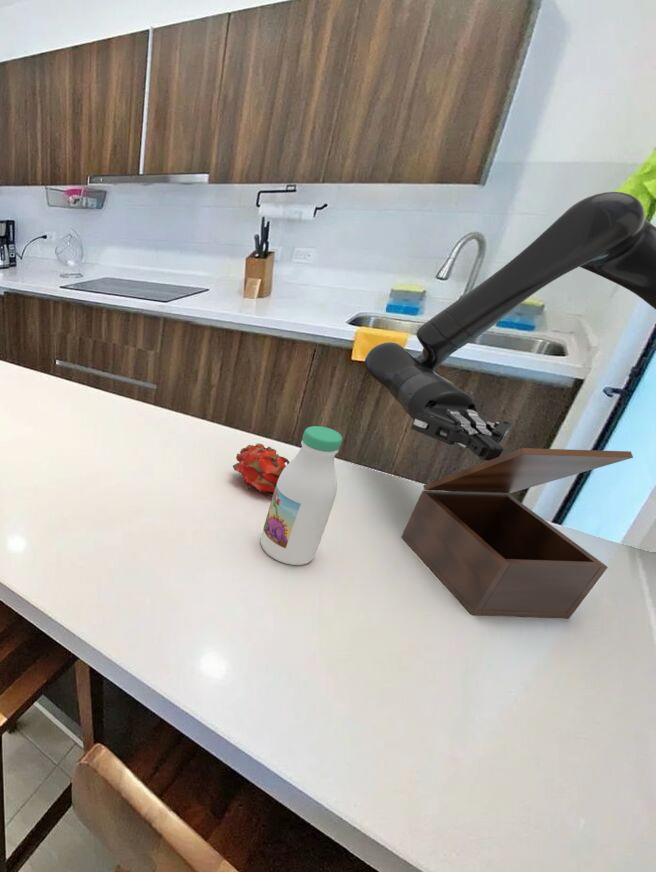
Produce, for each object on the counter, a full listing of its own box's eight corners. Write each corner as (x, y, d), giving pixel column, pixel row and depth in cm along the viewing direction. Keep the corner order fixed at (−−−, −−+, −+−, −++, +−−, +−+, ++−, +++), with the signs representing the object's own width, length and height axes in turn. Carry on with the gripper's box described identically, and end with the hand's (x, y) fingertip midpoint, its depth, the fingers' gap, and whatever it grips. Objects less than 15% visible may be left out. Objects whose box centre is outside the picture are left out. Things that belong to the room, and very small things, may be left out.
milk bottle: (309, 538, 78) (349, 424, 68) (318, 571, 71) (363, 450, 62) (257, 529, 80) (289, 416, 70) (261, 560, 73) (296, 441, 63)
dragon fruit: (228, 476, 96) (285, 513, 89) (216, 468, 89) (276, 506, 82) (255, 440, 95) (314, 474, 88) (244, 428, 88) (307, 464, 81)
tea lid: (633, 457, 58) (631, 451, 59) (523, 454, 58) (521, 447, 59) (510, 493, 74) (509, 488, 74) (424, 490, 74) (423, 485, 74)
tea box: (569, 618, 65) (608, 567, 61) (471, 615, 65) (502, 563, 61) (482, 539, 79) (508, 493, 74) (400, 536, 79) (422, 490, 74)
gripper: (397, 377, 80) (449, 424, 65) (489, 384, 78) (565, 435, 63) (381, 419, 83) (427, 472, 69) (469, 427, 81) (536, 484, 67)
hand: (493, 454), depth 66 cm, fingers closed
